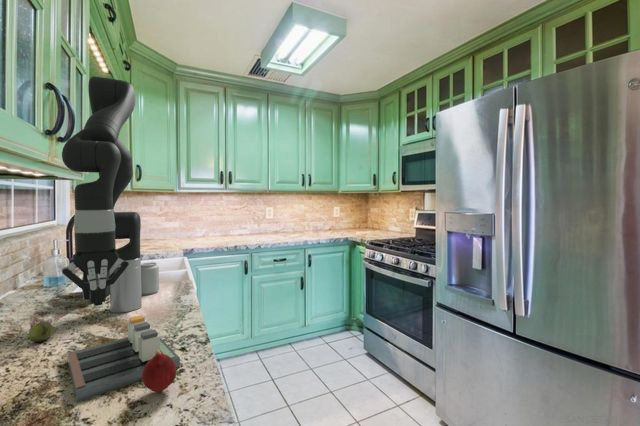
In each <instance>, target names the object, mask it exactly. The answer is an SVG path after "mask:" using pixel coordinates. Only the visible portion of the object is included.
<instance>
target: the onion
mask: <svg viewBox="0 0 640 426" xmlns="http://www.w3.org/2000/svg"><path fill="white" fill-rule="evenodd" d="M177 369H178V368H176V364H175V362H174V361H173V360H172V359H171V358H170V357H169V356H168V355H165V354H163V353H161V352H160V351H159V350H156V354H155V356H154V357H153V358H152V359H150V360H149V361H148V363H147V364H146V366H145V368H144V370H143V373H142V380H141V381H142V383H143V385H144V387H146V388H147V389H148V390H150V391H151V392H155V393H162V392H164V390H166V389H167V388H168V387H170V385H171V384H172V383H173V382H174V381H175V378H176V377H177Z"/></svg>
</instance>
